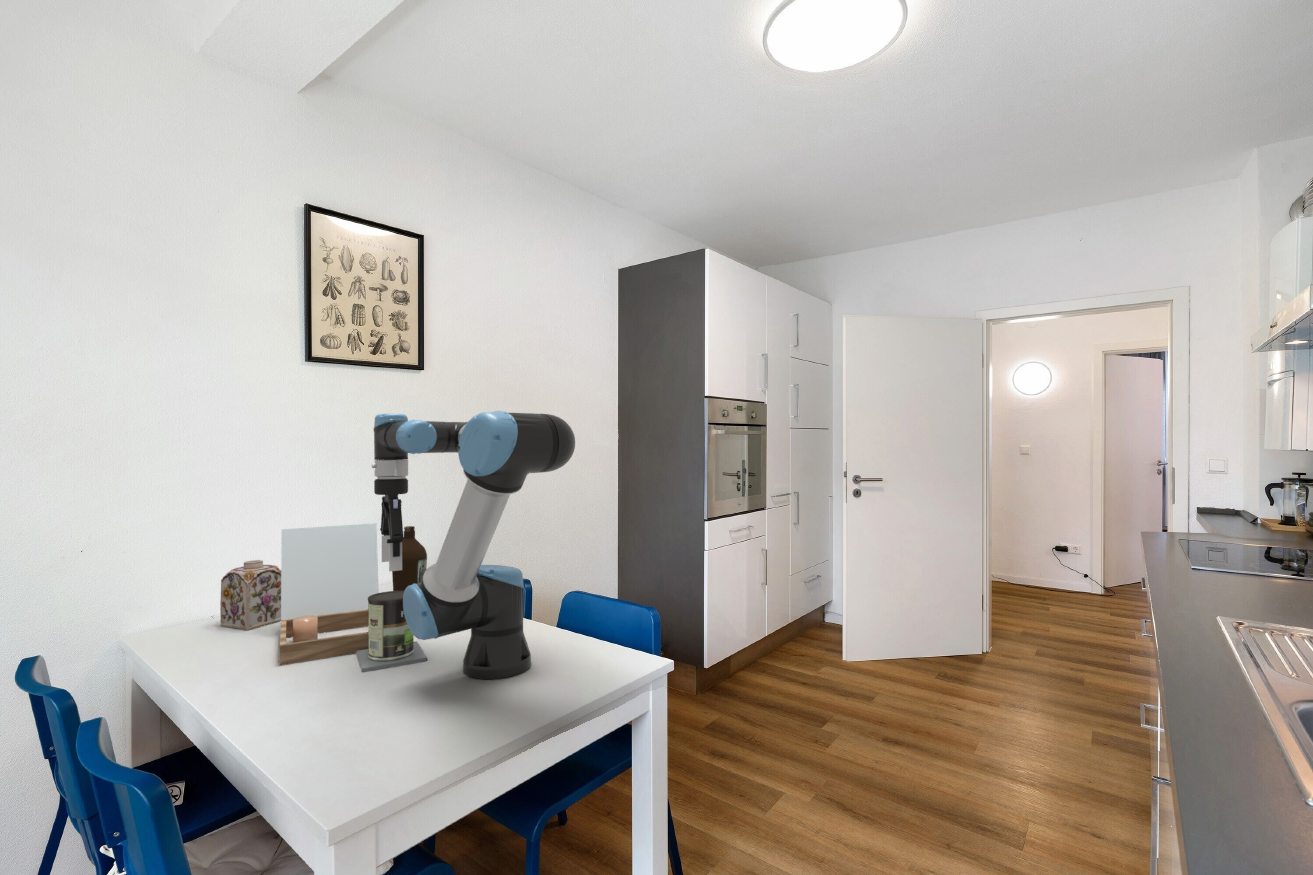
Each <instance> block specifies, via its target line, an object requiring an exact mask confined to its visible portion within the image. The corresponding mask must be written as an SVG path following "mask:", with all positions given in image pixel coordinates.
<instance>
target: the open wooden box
mask: <svg viewBox="0 0 1313 875" xmlns="http://www.w3.org/2000/svg"><path fill="white" fill-rule="evenodd" d="M317 617H318V634H323V633H324V632H325V633H332V632H337V631H343V630H345V631H346V630H352V629H358V628H367V627H368V609H367V610H359V611H351V612H344V613H336V614H328V615H320V616H317ZM279 635H280V636H279V666H285V664H286V665H291V664H296V663H297V664H298V663H303V662H310V661H317V660H321V659H322V660H323V659H329V658H335V657H342V656H347V655H353V654H356V651H359V650H365V649H368V631H365V632H357V633H356V632H355V633H352V634H351V633H350V634H344V635H337V636H329V637H324V638H322V637H321V638H318V639H315V640H308V641H301V642H294V643H293V642H289V643H287V639H288V638H293V619H289V620H281V621H280V633H279Z"/></svg>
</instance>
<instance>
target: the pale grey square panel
mask: <svg viewBox="0 0 1313 875" xmlns="http://www.w3.org/2000/svg"><path fill="white" fill-rule="evenodd" d="M377 531H378V529H377V523H361V524H346V525H345V524H344V525H329V526H316V527H315V526H313V527H297V528H283V529H281V548H280V549H281V552H280V553H281V554H280V555H281V556H280V557H281V559H280V560H281V564H280V565H281V567H280V570H281V620H289V619H295V618H298V617H302V616H320V615H328V614H336V613H344V612H351V611H359V610H367V609H368V597H369V596H371V595H373V594H377V593H380V592H379V564H378V563H379V562H378V560H379V559H378V533H377Z"/></svg>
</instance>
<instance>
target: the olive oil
mask: <svg viewBox="0 0 1313 875" xmlns="http://www.w3.org/2000/svg"><path fill="white" fill-rule="evenodd" d="M415 529H416V528H415V526H414V525H413V526H412V525H407V526H403V537H404V539H403V541H402V570H399V571H391V573H392V574H391V575H392V576H391V577H392V578H391V579H392V591H405V589H406V588H407V587H408V586H410V585H412V584H419V583H420V582H421V580H422V578H423V575H424V573H425V571H426V569H427V568H428V567H427V565H428V554H427V549H426V548H425V546H424V545H423V544H422V543H421V542H419V540H418V539H416V530H415Z"/></svg>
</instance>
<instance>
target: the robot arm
mask: <svg viewBox="0 0 1313 875" xmlns="http://www.w3.org/2000/svg"><path fill="white" fill-rule="evenodd" d="M373 436H374V437H373V446H374V448H373V449H374V450H373V453H374V463H373V464H371V468H372V469H374V477H377V478H376V479H374V481H373V485H374V486H373V487H374V488H373V490H374V495H377V496H382V497H381V515H380V516H381V518H380V528H379V531H380V533H381V534H380V535H381V563H388V571H389V572H392V571H399V570H402V541H403V539H404V526H403V514H402V503H403V502H402V501H403V500H402V499H401V498H399V495H405V494H407V493H408V492H409V479H408V478H406V477H408V476H409V454H410V455H411V454H412V455H415V454H439V453H440V454H443V453H450V454H451V453H452V454H453V453H457V454H458V460H459V463H460V467H462V469H463V474H464V476H465V478H466V479H467V480H466V482H465V486H464V488H463V489H462V490H463V491H462V493H461V496H460V499H459V502H458V504H457V507H456V509H455V512H454V515H453V517H452V520H451V522H450V525H449V528H448V531H447V533H446V536H445V539H444V542H443V543H442V547H441V549H440V552H439V555H438V557H437V559H436V562H435V563H433V564H432V565H430V566H429V567H427V568H426V571H425V573H424V575H423V578H422V580H421V582H420V583H419V584H412V585H410V586H408V587H407V588H406V589H405V591H404V595H403V609H404V615H405V619H406V622H407V625H408V627H409V629H410V631H411V633H412V634H413V635H414V637H415V638H416V639H418V640H422V641H426V640H427V641H428V640H432V639H435V640H436V639H439V638H441V637H444V636H449V635H453V634H456V633H460V632H464V631H468V630H470V639H469V641H468V643H467V646H466V650H465V653H464V657H463V661H462V672H463V674H464V675H466V676H468V677H470V678H474V679H481V680H482V679H483V680H493V679H494V680H495V679H503V678H509V677H514V676H517V675H520V674H522V673H524V672H526V671H528V670H529V668H530V667H531V666H532V654H531V651H530V646H529V644H528V642H527V639H526V638H527V637H526V636H525V632H524V589H525V586H524V577H523V572H522V570H520V569H519V568H517V567H515V566H508V565H501V564H482V563H483V561H484V559H485V557H486V554H487V551H488V549H489V546H490V544H491V542H492V539H493V537H494V534H495V532H496V530H497V527H498V526H499V523H500V520H501V518H502V515H503V513H504V510H505V508H506V507H507V506H506V505H507V503H508V502H509V499H510V496H511V495H513V494H516V493H518V492H520V490H522V487H523V485H524V483H525V481H526V479H527V476H528V475H529V474H537V473H549V472H553V471H554V472H555V471H556V470H558V469H561V468H562V467H564V466H565V465H566V464H567V463H568V462H569V461H570V459H572V456H573V455H574V452H575V448H576V437H575V436H576V435H575V434H574V431H573V429H572V427H571V426H570V425H569V423H568V422H567V421H565V420H564V419H563V418H561V417H559V416H557V415H554V414H549V413H531V412H530V413H529V412H528V413H527V412H507V411H503V410H496V411H495V410H494V411H484V412H481V413H477V414H475V415H474V416H472V417H471V418H470V419H469V420H468V421H430V420H429V421H428V420H422V419H410V420H409V419H408V416H407V415H406V414H404V413H378V414H376V415H375V417H374V426H373Z"/></svg>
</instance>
